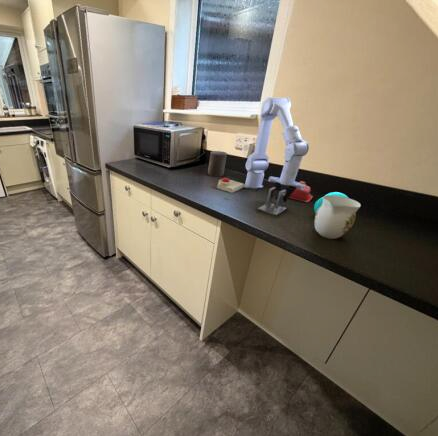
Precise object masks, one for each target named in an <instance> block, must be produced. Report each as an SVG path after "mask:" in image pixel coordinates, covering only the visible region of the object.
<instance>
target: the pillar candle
mask: <svg viewBox="0 0 438 436" xmlns="http://www.w3.org/2000/svg"><path fill="white" fill-rule="evenodd" d="M209 154H210V155H209V162H208V169H207V175H208V176H209V177H214V178H215V177H216V178H220V177H223V176H224V175H225V168H226V162H227V156H228V152H226V151H222V150H221V151H220V150H213V151H211V152H210V153H209Z"/></svg>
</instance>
